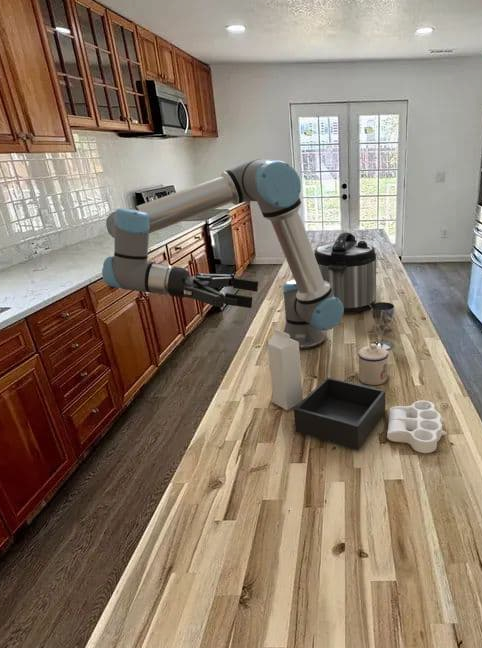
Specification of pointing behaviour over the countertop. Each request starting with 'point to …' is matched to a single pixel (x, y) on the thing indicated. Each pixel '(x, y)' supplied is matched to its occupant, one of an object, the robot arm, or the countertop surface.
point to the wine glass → (382, 319)
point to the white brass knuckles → (416, 426)
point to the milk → (285, 370)
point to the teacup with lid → (373, 365)
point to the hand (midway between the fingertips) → (255, 294)
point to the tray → (340, 412)
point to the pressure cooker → (349, 271)
